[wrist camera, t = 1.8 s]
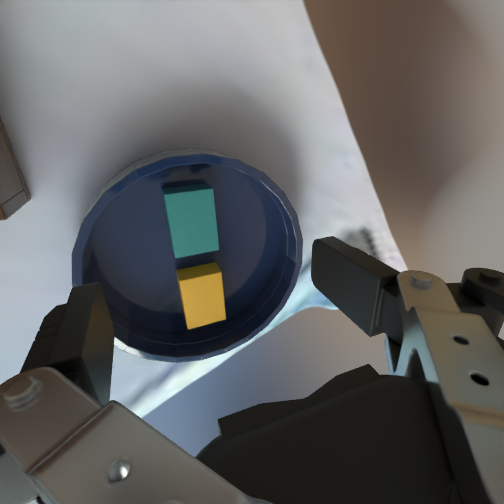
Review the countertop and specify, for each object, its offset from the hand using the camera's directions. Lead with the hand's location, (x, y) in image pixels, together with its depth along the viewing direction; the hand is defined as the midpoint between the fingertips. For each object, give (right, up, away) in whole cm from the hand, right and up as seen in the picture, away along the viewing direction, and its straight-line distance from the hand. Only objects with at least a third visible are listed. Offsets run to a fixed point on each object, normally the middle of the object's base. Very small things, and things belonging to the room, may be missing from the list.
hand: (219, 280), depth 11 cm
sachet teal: (-4, +4, +13) cm, 14 cm away
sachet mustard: (-4, -2, +16) cm, 16 cm away
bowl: (-4, +1, +14) cm, 15 cm away
